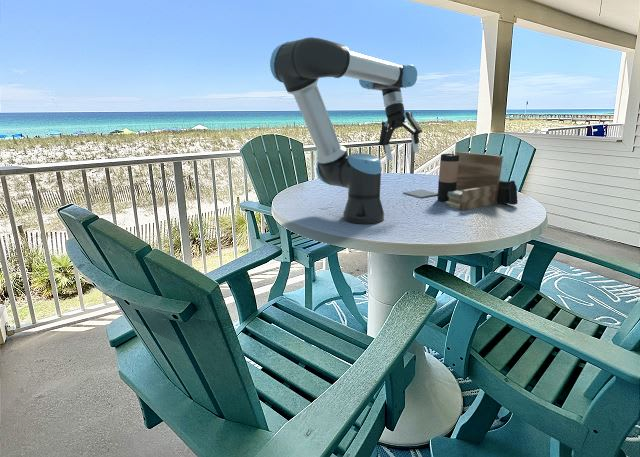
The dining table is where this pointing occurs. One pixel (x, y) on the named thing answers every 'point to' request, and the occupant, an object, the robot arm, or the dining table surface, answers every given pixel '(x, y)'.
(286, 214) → the dining table surface
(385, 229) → the dining table surface
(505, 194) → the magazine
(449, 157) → the travel mug
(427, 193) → the grey mat
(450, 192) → the offcut stack
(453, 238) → the dining table surface
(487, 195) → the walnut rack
